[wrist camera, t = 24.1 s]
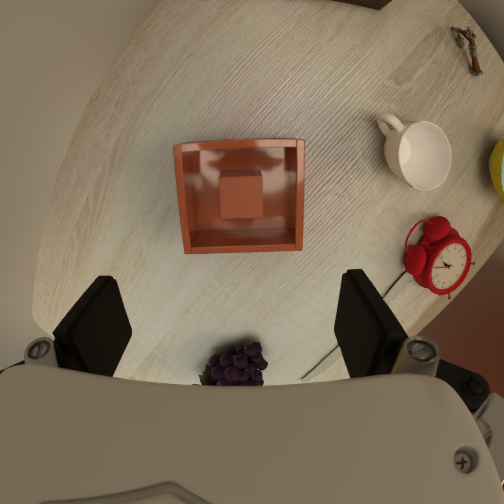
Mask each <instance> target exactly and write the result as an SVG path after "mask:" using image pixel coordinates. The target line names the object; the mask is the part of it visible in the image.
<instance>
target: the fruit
mask: <svg viewBox="0 0 504 504" xmlns="http://www.w3.org/2000/svg"><path fill="white" fill-rule="evenodd" d="M261 351H262V348H261V345H260V343H259V342H252V343H251V344H248V345H245V344H240V345H239V346H238V347H229V349H228V351H227V354H222V356H221V355H213V356H211V358H210V360H209V364H210V366H209V365H208V364H206V368H205V372H203V371H202V372H203V375H199V377H200V382H201V385H200V386H263V383H264V381H263V379H262V378H263V377H262V372H261V371H260V370H264V369H266V368H267V365H268V362H266V361H265V360H264V358H263V357H262V353H261ZM257 369H259V370H257ZM192 385H199V384H192Z"/></svg>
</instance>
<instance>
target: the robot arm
mask: <svg viewBox="0 0 504 504" xmlns="http://www.w3.org/2000/svg"><path fill="white" fill-rule="evenodd" d="M334 332H335V336H336V339H337V341H338V344H339V347H340V350H341V353H342V355H343V358H344V361H345V364H346V367H347V370H348V373H349V375H350V379H342V380H334V381H325V382H314V383H302V384H289V385H270V386H200V385H181V384H168V383H156V382H146V381H137V380H129V379H122V378H115V377H113V375H114V373H115V370H116V368H117V366H118V364H119V362H120V359H121V357H122V355H123V353H124V351H125V349H126V346H127V344H128V342H129V340H130V338H131V336H132V329H131V325H130V323H129V320H128V317H127V313H126V310H125V307H124V304H123V301H122V298H121V294H120V291H119V287H118V284H117V281H116V280H115V279H113V277H112V276H98V277H97V278H96V279H95V281H94V282H93V283H92V284H91V285H90V286H89V288H88V289H87V290H86V291H85V292H84V293H83V295H82V296H81V297H80V298H79V299H78V301H77V302H76V303H75V304H74V306H73V307H72V308H71V309H70V311H69V312H68V313H67V314H66V316H65V317H64V318H63V319H62V321H61V322H60V323H59V325H58V326H57V327H56V329H55V330H54V331H53V335H54V337H55V340H54V341H52V340H51V339H50V338H47V337H42V338H38V339H36V340H34V341H33V342H31V343H30V344H29V345H28V346H27V348H26V350H25V354H24V358H25V360H24V361H21V362H19V363H17V364H15V365H12V366H10V367H8V368H6V369H4V370H2V371H0V504H504V492H503V488H502V485H503V483H504V398H502V397H501V396H499V395H498V394H497V393H495V392H494V393H493V395H492V394H490V388H489V385H488V383H487V381H486V379H484V378H483V377H482V376H481V375H479V374H477V373H475V372H472V371H470V370H467V369H464V368H462V367H459V366H456V365H454V364H452V363H449V362H446V361H444V360H441V359H440V350H439V347H438V346H437V345H436V343H435V342H433V341H432V340H431V339H429V338H426V337H423V336H412V337H408V335H407V334H406V332H405V331H404V329H403V328H402V326H401V324H400V323H399V321H398V320H397V318H396V317H395V315H394V314H393V312H392V311H391V309H390V308H389V306H388V305H387V303H386V302H385V301H384V300H383V298H382V297H381V295H380V294H379V292H378V291H377V290H376V288H375V287H374V285H373V284H372V282H371V281H370V280H369V278H368V277H367V275H366V274H365V273H364V271H363V270H362V269H349V270H347V272H346V273H344V274H343V275H342V281H341V288H340V295H339V301H338V307H337V313H336V319H335V325H334Z"/></svg>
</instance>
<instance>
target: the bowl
mask: <svg viewBox="0 0 504 504" xmlns="http://www.w3.org/2000/svg"><path fill="white" fill-rule="evenodd" d="M488 165H489V171H490V174H491V178H492V182H493V185H494V187H495V189H496V191H497V193H498V195H499V196H500V197H501V198H502V199H503V201H504V138H503V139H502V140H500V141H499V142H498V143H497V145H496V146H495V148H494V150H493V152H492V154H491V155H490V158H489V164H488Z"/></svg>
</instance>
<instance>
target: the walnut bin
mask: <svg viewBox="0 0 504 504" xmlns="http://www.w3.org/2000/svg"><path fill="white" fill-rule="evenodd" d="M333 1H339V2H344V3H350V4H355V5H359V6H364V7H368V8H372V9H376V10H380V9H382V8H383V7H384V6H385V5H387V4H388V3H389V2H391V1H392V0H333Z"/></svg>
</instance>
